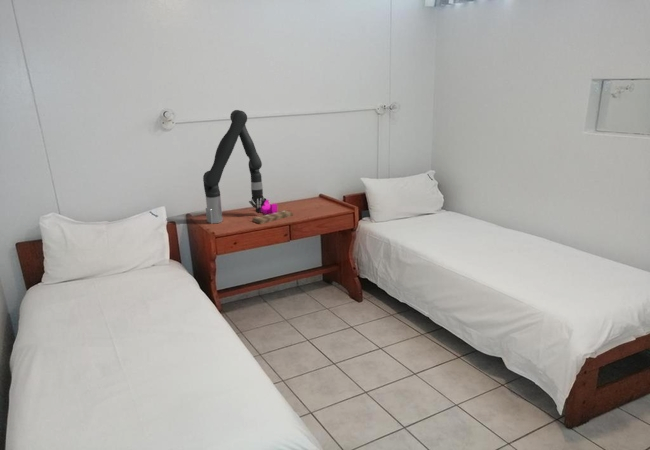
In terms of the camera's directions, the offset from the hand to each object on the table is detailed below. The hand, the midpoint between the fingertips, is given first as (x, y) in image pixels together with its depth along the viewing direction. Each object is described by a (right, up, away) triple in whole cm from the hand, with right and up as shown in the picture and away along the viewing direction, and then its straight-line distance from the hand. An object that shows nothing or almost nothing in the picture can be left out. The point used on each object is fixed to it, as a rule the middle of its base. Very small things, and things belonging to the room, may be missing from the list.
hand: (258, 213), depth 317 cm
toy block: (+6, 0, +6) cm, 9 cm away
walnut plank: (+11, -4, -7) cm, 13 cm away
